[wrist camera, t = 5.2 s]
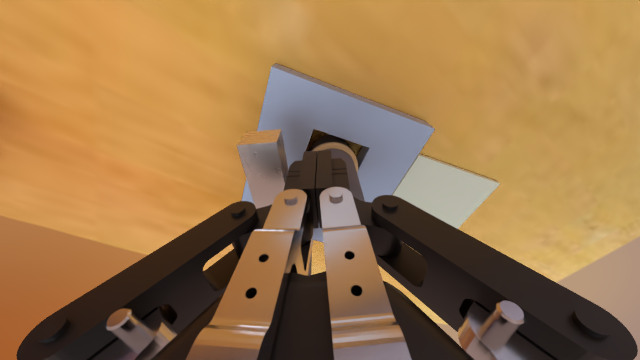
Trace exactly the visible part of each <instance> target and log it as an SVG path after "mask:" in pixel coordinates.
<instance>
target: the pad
mask: <svg viewBox="0 0 640 360" xmlns="http://www.w3.org/2000/svg"><path fill="white" fill-rule="evenodd" d="M499 185H500V183H499V182H497V181H496V180H493V179H490V178H487V177H484V176H482V175H479V174H476V173H473V172H470V171H468V170H465V169H462V168H459V167H456V166H453V165H451V164H448V163H445V162H442V161H439V160H436V159H434V158H431V157H428V156H425V155H422V154H418V156H417V157H416V159H415V160H414V162H413V163H412V165H411V166H410V168H409V169H408V171H407V172H406V174H405V175H404V177H403V178H402V180H401V181H400V183H399V184H398V186H397V187H396V189H395V190H394V192H393V194H392V195H393V196H397V197H400V198H402V199H403V200H405V201H407V202H409V203H411V204H413V205H414V206H416V207H418V208H420V209H422V210H424V211H425V212H427V213H429V214H431V215H433V216H435V217H436V218H438V219H440V220H442V221H444V222H446V223H447V224H449V225H451V226H453V227H455V228H457V229H458V228H459V227H460V226H461V225H462V224H463V223H464V222H465V221H466V219H467V218H468V217H469V216H470V215H471V214H472V213H473V212H474V211H475V210H476V209H477V208H478V207H479V206H480V205H481V204H482V203H483V202H484V200H485V199H486V198H487V197H488V196H489V195H490V194H491V193H492V192H493V191H494V190H495V189H496V188H497V187H498V186H499Z"/></svg>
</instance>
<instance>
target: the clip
mask: <svg viewBox="0 0 640 360" xmlns="http://www.w3.org/2000/svg"><path fill="white" fill-rule="evenodd" d="M237 148H238V152H239V155H240V158H241V162H242V165H243V168H244V172H245V175H246V178H247V182H248V185H249V188H250V192H251V195H252V198H253V202H254V205H255V207H256V209H258V208H261V207H265V206H268V205H271V204H273V202H274V200H275V197H276V196H277V195H278V194H279V193H281V192H282V191H283V190H284V186H285V182H286V179H287V175H288V171H289V170H288V164H287V159H286V153H285V147H284V142H283V136H282V130H281V129H277V130H264V131H251V132H245V134H244V135H243V137H242V138H241V140H240V141H239V142H238V144H237Z"/></svg>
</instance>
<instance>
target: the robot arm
mask: <svg viewBox="0 0 640 360" xmlns="http://www.w3.org/2000/svg"><path fill="white" fill-rule="evenodd" d="M319 227H320V228H322V230H323V241H324V252H325V263H326V271H325V272H322V273H318V274H314V275H308V270H309V264H310V257H311V251H312V244H313V239H312V237H313V228H319ZM403 242H404V243H403ZM231 243H232V245H233V247H234V249H233V250H232V251H230V252H229V253H228V254H226V255H225V256H224V257H222V258H221V259H220V260H218V261H217V262H216V263H214V264H213V265H212V266H210V267H209V268H208V269H207V270H205V271H203V267H204V265H205V263H206V262H207V261H208V260H209V259H211V258H212V257H213V256H215V255H216V254H218V253H219V252H220V251H222V250H223V249H224V248H226V247H227V246H228V245H230V244H231ZM406 244H407V245H408V246H407V245H406ZM409 246H410V247H411V248H410V247H409ZM413 249H414V250H413ZM416 251H417V252H418V253H417V252H416ZM419 253H420V254H421V255H420V254H419ZM378 265H379V266H380V267H382V268H383V269H384V270H385V271H386V272H387V273H389V274H390V275H391V276H392V277H393V278H395V279H396V280H397V281H398V282H399V283H400V284H402V285H403V286H404V287H405V288H406V289H407V290H409V291H410V292H411V293H412V294H413V295H415V296H416V297H417V298H418V299H419V300H420V301H422V302H423V303H424V304H425V305H426V306H427V307H429V308H430V309H431V310H432V311H433V312H434V313H436V314H437V315H438V316H439V317H440V318H442V319H443V320H444V321H445V322H446V323H447V324H449V325H450V326H451V327H452V328H453V329H455V330H456V331H457V332H458V338H459V341H460V344H461V347H462V348H461V347H460V346H459V345H458V344H457V343H456V342H455V341H454V340H453V339H452V338H451V337H450V336H449V335H447V334H446V333H445V332H444V331H443V330H442V329H441V328H440V327H439V326H438V325H437V324H436V323H435V322H434V321H432V320H431V319H430V318H429V317H428V316H427V315H426V314H425V313H424V312H423V311H422V310H421V309H420V308H418V307H417V306H416V305H415V304H414V303H413V302H412V301H411V300H410V299H409V298H408V297H407V296H406V295H404V294H403V293H402V292H401V291H400V290H398V289H397V288H395V287H394V286H392V285H391V284H389V283H387V282H385V281H383V280H382V277H381V274H380V270H379V267H378ZM637 351H638V350H637V345H636V342H635V340H634V338H633V336H632V335H631V334H630V332H629V331H628V330H627V328H626V327H625V326H624V325H623V324H622V323H621V322H620V321H618V320H617V319H616V318H615V317H614V316H612V315H611V314H610V313H609V312H607V311H606V310H604V309H603V308H601V307H599V306H598V305H596V304H594V303H592V302H591V301H589V300H587V299H585V298H583V297H581V296H579V295H578V294H576V293H574V292H572V291H570V290H569V289H567V288H565V287H563V286H561V285H559V284H558V283H556V282H554V281H552V280H550V279H548V278H546V277H545V276H543V275H541V274H539V273H537V272H535V271H534V270H532V269H530V268H528V267H526V266H524V265H523V264H521V263H519V262H517V261H515V260H513V259H512V258H510V257H508V256H506V255H504V254H502V253H501V252H499V251H497V250H495V249H493V248H491V247H490V246H488V245H486V244H484V243H482V242H480V241H479V240H477V239H475V238H473V237H471V236H469V235H468V234H466V233H464V232H462V231H460V230H458V229H457V228H455V227H453V226H451V225H449V224H447V223H446V222H444V221H442V220H440V219H438V218H436V217H435V216H433V215H431V214H429V213H427V212H425V211H424V210H422V209H420V208H418V207H416V206H414V205H413V204H411V203H409V202H407V201H405V200H403V199H402V198H400V197H397V196H393V195H382V196H378V197H376V198H375V199H374V200H373V202H372V203H371V202H365V201H361V200H359V199H357V198H355V197H354V196H353V195H352V193H351V192H350V187H349V181H348V174H347V168H346V163H345V162H344V161H343V160H342V159H341V158H336V159H331V150H320V151H318V153H317V151H304V153H303V159H302V160H301V161H294V162H293V163H292V164H291V165H290V167H289V171H288V175H287V179H286V182H285V186H284V190H283V191H282V192H281V193H279V194H278V195H277V196H276V197H275V200H274V202H273V204H271V205H268V206H265V207H261V208H258V209H256V207H255V205H254V204H253V203H252V202H249V201H240V202H236V203H233V204H231V205H229V206H228V207H226V208H224V209H223V210H221V211H219V212H218V213H216V214H215V215H213V216H211V217H210V218H208V219H206V220H205V221H203V222H202V223H200V224H198V225H197V226H195V227H193V228H192V229H190V230H188V231H187V232H185V233H184V234H182V235H180V236H179V237H177V238H175V239H174V240H172V241H171V242H169V243H167V244H166V245H164V246H162V247H161V248H159V249H158V250H156V251H154V252H153V253H151V254H149V255H148V256H146V257H145V258H143V259H141V260H140V261H138V262H137V263H135V264H133V265H131V266H130V267H128V268H127V269H125V270H123V271H122V272H120V273H118V274H117V275H115V276H114V277H112V278H110V279H109V280H107V281H106V282H104V283H102V284H101V285H99V286H97V287H96V288H94V289H93V290H91V291H89V292H88V293H86V294H84V295H83V296H81V297H80V298H78V299H76V300H75V301H73V302H71V303H70V304H68V305H66V306H65V307H63V308H61V309H60V310H58V311H57V312H55V313H53V314H52V315H50V316H49V317H47V318H46V319H44V320H43V321H42V322H41V323H40V324H38V325H37V326H36V327H35V328H34V329H33V330H32V331H31V332H30V333H29V334H28V335H27V336H26V337H25V339H24V340H23V341H22V343H21V345H20V346H19V349H18V351H17V360H633V359H634V358H635V357H636V356H637Z"/></svg>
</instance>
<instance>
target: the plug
mask: <svg viewBox="0 0 640 360" xmlns="http://www.w3.org/2000/svg"><path fill="white" fill-rule="evenodd" d="M320 150H331V159H336V158H341V159H342V160H343V161H344V162H345V163H346V168H347V174H348V181H349V187H350V192H351V193H352V195H353V196H354V197H355V198H357V199H359V200H361V201H365V200H364V196H363V192H362V189H361V185H360V182H359V178H358V175H357V172H358V162H357V159H356V156H355V154H354V152H353V151H352V150H351V149H350V147H349V144H348V143H347V141H346V140H345V139H342V138H339V137H336V136H333V135H325V136H322V137H320V138H318V139H317V140H316V141H315V142H314V143H313V145H312V147H311V150H310V151H317V153H318V151H320Z"/></svg>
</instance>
